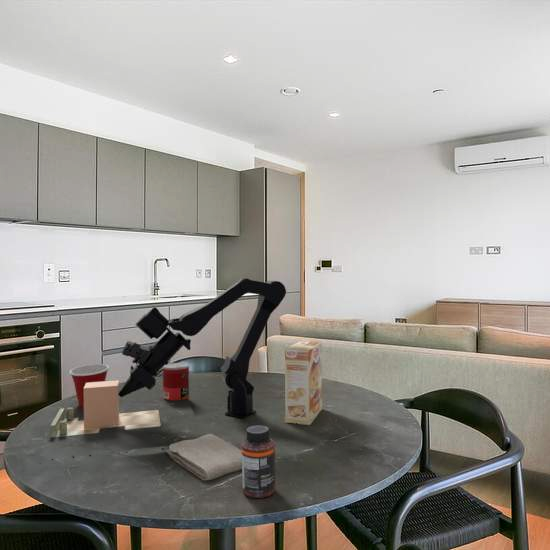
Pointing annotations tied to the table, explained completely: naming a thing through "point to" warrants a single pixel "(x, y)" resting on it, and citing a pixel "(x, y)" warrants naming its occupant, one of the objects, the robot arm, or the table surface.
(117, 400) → the block
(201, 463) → the washcloth
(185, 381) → the canned food
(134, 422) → the trap board
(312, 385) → the coffeecake box
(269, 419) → the table surface
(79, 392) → the plastic cup
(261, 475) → the supplement bottle
